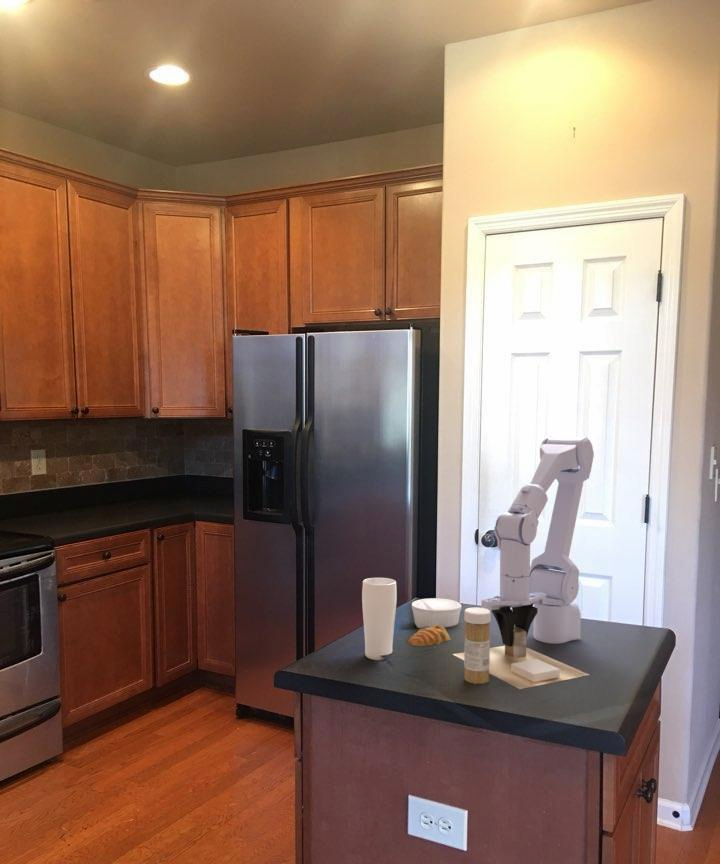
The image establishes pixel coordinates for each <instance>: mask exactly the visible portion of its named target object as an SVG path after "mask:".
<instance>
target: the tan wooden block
mask: <svg viewBox="0 0 720 864" xmlns="http://www.w3.org/2000/svg"><path fill="white" fill-rule="evenodd" d="M504 646H505V654H507V655H510V656H512V657H514V658H520V657H525V656H526V648H527V638H526V631H524V629H521V628H519V627H516V626H515V625H514V633H513V644H512V646H507V645H505V644H504Z"/></svg>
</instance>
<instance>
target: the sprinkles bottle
mask: <svg viewBox="0 0 720 864" xmlns="http://www.w3.org/2000/svg"><path fill="white" fill-rule="evenodd" d="M491 614H492V612H491V611H489V610H488V609H485V608H481V607H468V608H465V610H464V614H463V615H464V616H463V617H464V619H463V621H464V623H465V624H464V628H465V629H464V648H463V649H464V652H463V653H464V660H463V662H464V663H463V665H464V680H465V681H466V682H468V683H470V684H474V685H475V684H476V685H477V684H478V685H480V684H481V685H482V684H486V683H488V682H490V679H489V678H490V674H489V667H490V648H491V638H490V624H491V622H492V621H491V619H492V618H491V616H492V615H491Z"/></svg>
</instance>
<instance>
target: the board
mask: <svg viewBox="0 0 720 864" xmlns="http://www.w3.org/2000/svg"><path fill="white" fill-rule="evenodd" d="M452 655H453V656H455V657H456V658H458V659H460V660H462V661H464V652H458V653H452ZM534 659H538V660H541V661H543V662H545V663H547V664H550V665H552V666H554V667H556V668H559V669H560V677H558V678H554V679H549V680H544V681H539V682H532V681H530V680H527V679H525V678H523V677H521V676H519V675H517V674H515V673H513V672H512V671H511V664H512V663H518V662H523V661H529V660H534ZM489 675H492V676H493V677H495V678H497V679H499V680H501V681H503V682H504V683H506V684H509V685H510V686H512V687H514V688H516V689H518V690H525V689H529V688H533V687H538V686H543V685H549V684H553V683H557V682H562V681H566V680H567V681H568V680H572V679H577V678H578V679H579V678H582V677H587V676H590V674H589V673H587V672H584V671H581V670H580V669H577V668H575V667H572V666H571V665H568V664H566V663H564V662H561V661H558V659H557V660H556V659H555V658H553V657H552V658H551V657H549V656H547V655H545V654H542V653H540V652H538V651H535V650H533V649H531V648H529V647H526V656H525V657H520V658H514V657H512V656H510V655H507V654H505V645H500V646H495V647H490V667H489Z"/></svg>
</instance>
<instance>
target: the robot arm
mask: <svg viewBox="0 0 720 864" xmlns="http://www.w3.org/2000/svg"><path fill="white" fill-rule="evenodd" d="M594 455H595V453H594V449H593V444H592V442H591V441H590V438H589V437H586V436H585V437H557V436H555V437H554V436H553V437H552V436H546V437H544V438H543V440H542V442H541V444H540V446H539V459H540V461H539V463H538V465H537V468H536V470H535V472H534V474H533V477H532V479H531V481H530V483H529V484H525V485H523V486H522V487H521V488H520V490H519V492H518V494H517V495H516V497H515V499H514V500H513V501H512V504H511V506H509V509H508V510H507V511H506V512H503V513H502V514H500V515H498V517H497V518H496V521H495V525H494V527H493V529H494V535H495V538H496V540H497V549H498V550H499V551H500V552H499V555H500V557H499V594H498V595H495V596H492V597H488V598H484V599H481V607H480V608H485V609H488V610H489V611H490V612H491V614H492V615H493V616H494V618H495V621H496V623H497V625H498V629H499V631H500V632H499V633H500V636H501V641H502V644H503V645H504V646H505V645H507V646H512V644H513V633H514V627H515V626H516V627H519V628H521V629H524V631H526V639H527V637H528V634H529V630H530V628H531V624H532V623H533V633H532V634H533V635H532V636H533V639H534V640H536V641H539V642H542V643H546V644H564V643H568V642H570V641H576V640H581V634H582V633H581V629H582V628H581V626H582V625H581V621H582V619H581V617H582V615H581V609H580V607H579V605H578V604H577V602H575V600H576V599H577V596H578V594H579V588H580V584H579V583H580V582H579V576H580V569H579V568H578V566H577V565H576V564H575V563H574V562H573V561H572V560H571V559H570V558H569V557H570V552H571V546H572V541H573V537H574V531H575V527H576V521H577V518H578V512H579V506H580V502H581V501H580V500H581V498H582V497H581V496H582V491H583V487H584V482H585V481H587V480H589V478H590V476H591V472H592V466H593V462H594V457H595V456H594ZM555 480H557V484H558V485H557V490H556V494H555V499H554V504H553V509H552V514H551V519H550V524H549V528H548V532H547V538H546V543H545V547H544V551H543V552H542V553H541V554H540V555H537V556H536V557H534V558H533V559H532V561H531V544H532V543H533V542H534V540H535V539H536V537H537V531H538V526H539V518H540V515H541V514H542V512H543V511H544V508H545V507H546V504H547V502H548V500H549V498H548V495H547V491H548V490H549V488H550V487H552V484H553V483H554V482H555Z"/></svg>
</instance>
